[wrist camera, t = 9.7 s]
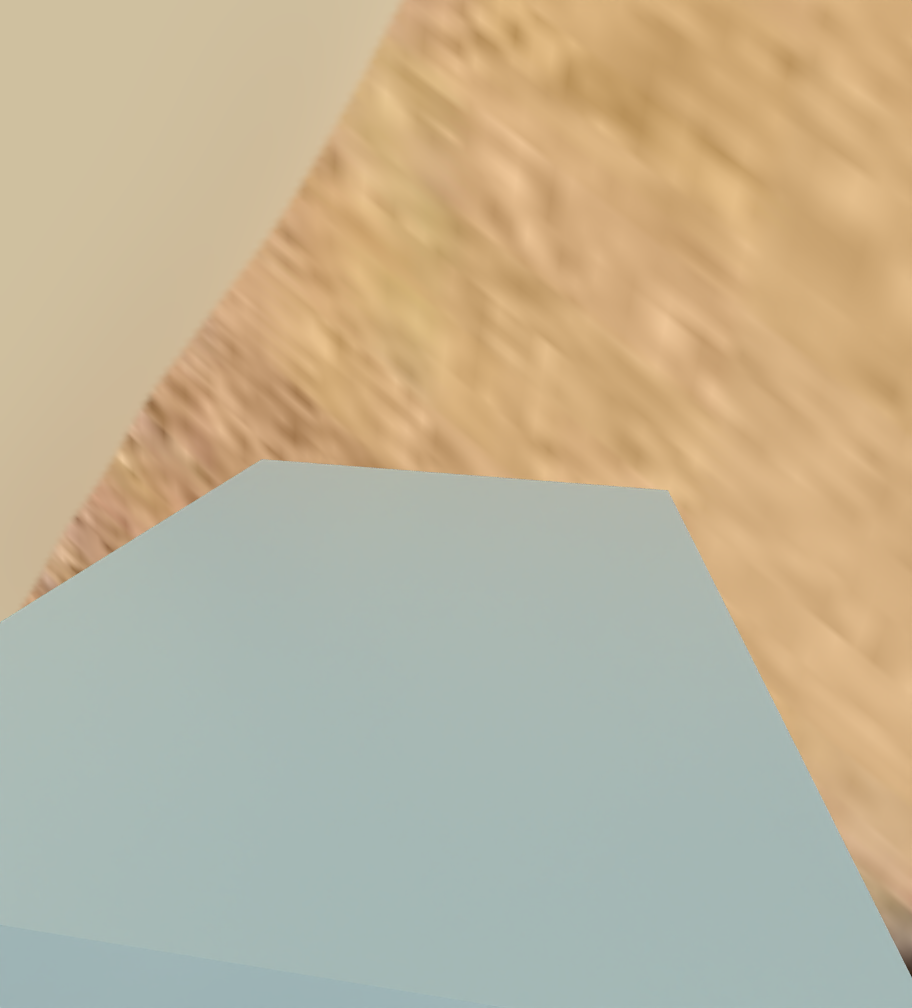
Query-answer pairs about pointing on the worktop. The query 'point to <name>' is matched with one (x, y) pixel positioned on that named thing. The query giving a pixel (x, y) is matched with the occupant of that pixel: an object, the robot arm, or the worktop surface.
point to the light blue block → (412, 766)
